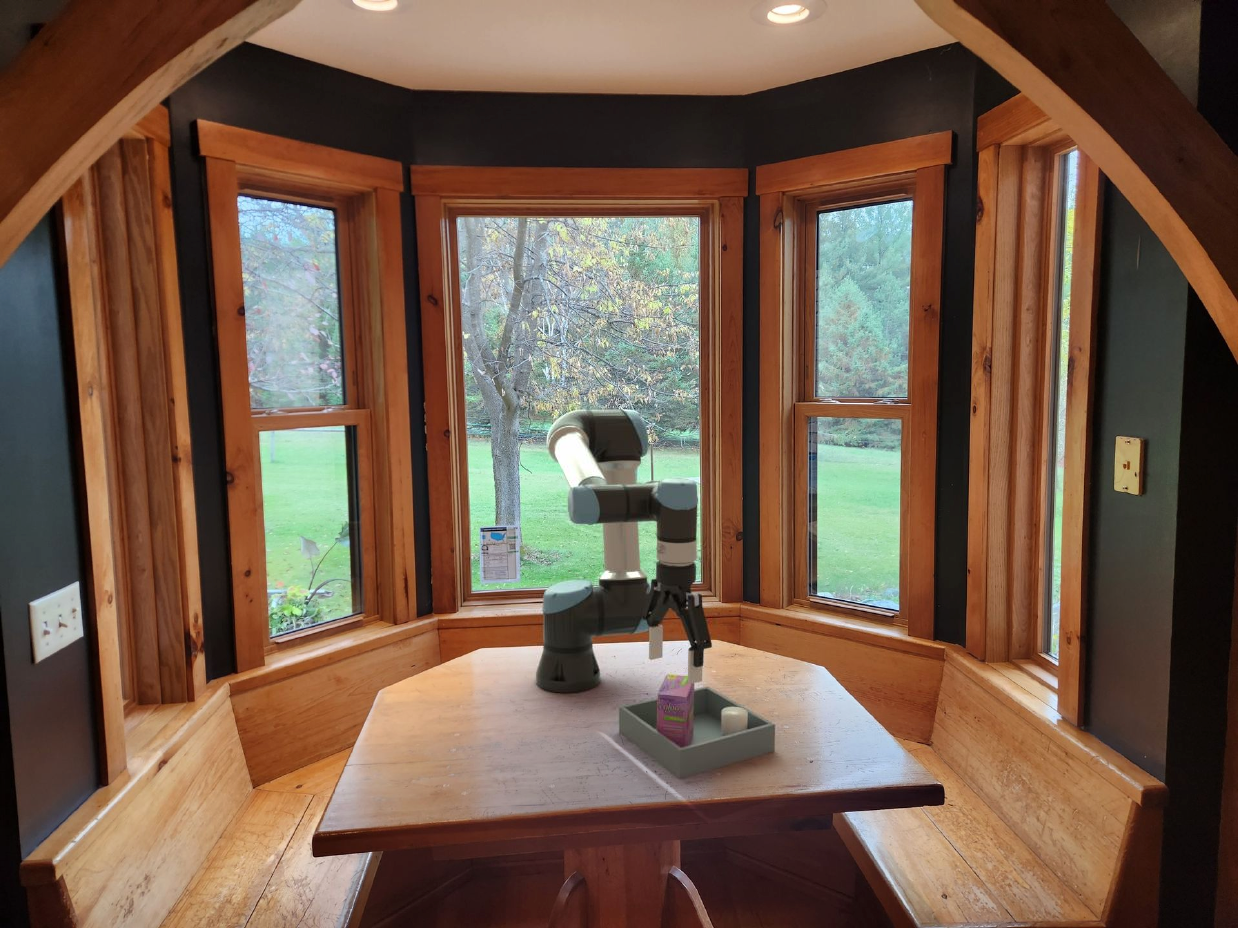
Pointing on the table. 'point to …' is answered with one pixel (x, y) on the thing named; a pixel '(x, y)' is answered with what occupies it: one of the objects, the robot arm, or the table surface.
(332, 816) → the table surface
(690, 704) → the box
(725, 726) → the cream bullet shape
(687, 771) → the crate
